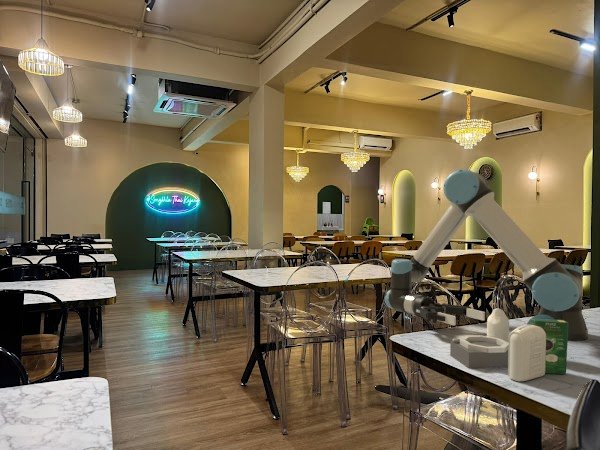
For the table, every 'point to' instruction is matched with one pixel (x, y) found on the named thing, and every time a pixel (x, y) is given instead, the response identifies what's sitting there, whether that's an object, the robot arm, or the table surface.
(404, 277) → the robot arm
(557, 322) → the coffee box
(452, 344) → the octagonal hole block
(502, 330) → the cream tapered cylinder
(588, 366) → the table surface
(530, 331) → the photo printer
